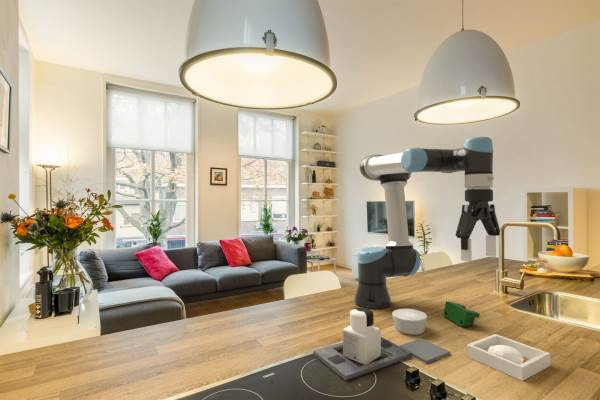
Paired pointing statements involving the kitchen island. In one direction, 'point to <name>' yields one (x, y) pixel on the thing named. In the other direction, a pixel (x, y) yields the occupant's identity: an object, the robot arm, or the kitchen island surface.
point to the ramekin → (409, 321)
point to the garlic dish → (521, 372)
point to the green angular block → (459, 314)
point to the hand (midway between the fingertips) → (479, 258)
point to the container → (362, 337)
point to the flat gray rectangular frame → (350, 369)
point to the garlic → (507, 353)
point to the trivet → (425, 350)
